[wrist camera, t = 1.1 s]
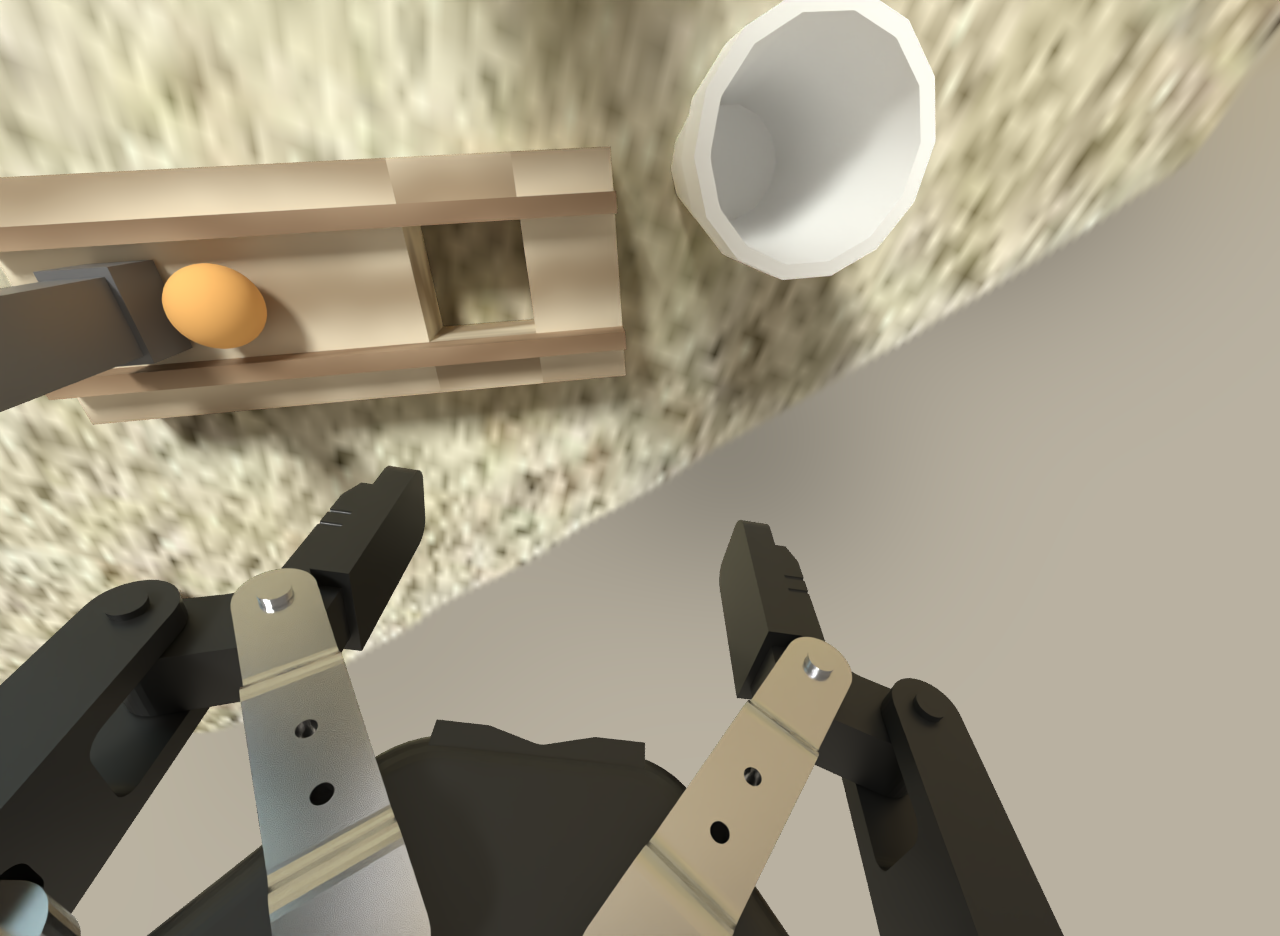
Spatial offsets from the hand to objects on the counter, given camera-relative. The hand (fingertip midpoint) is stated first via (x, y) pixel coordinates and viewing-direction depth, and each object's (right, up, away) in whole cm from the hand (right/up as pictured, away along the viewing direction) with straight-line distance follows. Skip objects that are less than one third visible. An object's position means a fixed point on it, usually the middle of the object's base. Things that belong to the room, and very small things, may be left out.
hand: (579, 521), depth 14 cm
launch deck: (-15, +13, +18) cm, 27 cm away
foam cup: (+6, +19, +18) cm, 27 cm away
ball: (-19, +9, +12) cm, 25 cm away
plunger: (-24, +10, +13) cm, 29 cm away
